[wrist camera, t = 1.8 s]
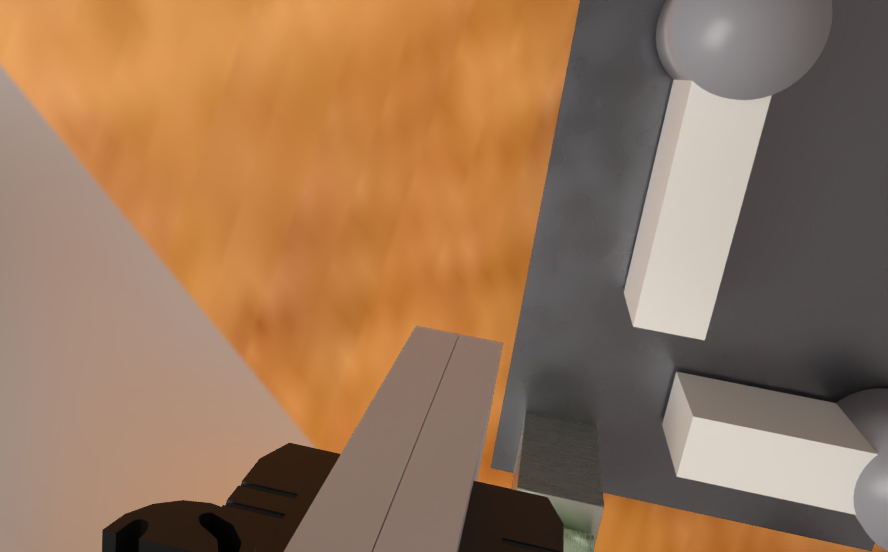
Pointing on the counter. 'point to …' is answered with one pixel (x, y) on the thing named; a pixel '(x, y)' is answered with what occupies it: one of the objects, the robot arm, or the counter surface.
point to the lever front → (711, 145)
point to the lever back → (784, 445)
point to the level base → (741, 289)
